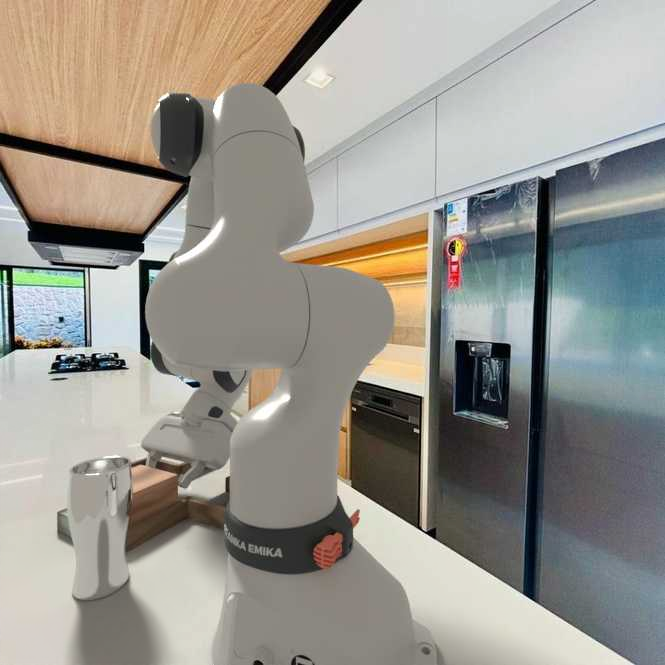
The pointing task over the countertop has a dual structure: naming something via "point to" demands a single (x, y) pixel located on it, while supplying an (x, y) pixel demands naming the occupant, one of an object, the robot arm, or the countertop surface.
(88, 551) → the beer glass
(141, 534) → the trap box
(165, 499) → the terracotta block
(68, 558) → the countertop surface
